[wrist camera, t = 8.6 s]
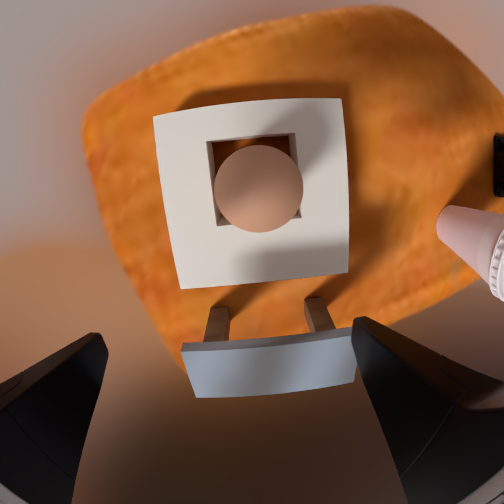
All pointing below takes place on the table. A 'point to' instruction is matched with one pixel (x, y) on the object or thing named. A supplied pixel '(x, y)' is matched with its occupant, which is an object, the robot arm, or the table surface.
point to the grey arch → (270, 358)
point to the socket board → (231, 237)
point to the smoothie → (476, 241)
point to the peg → (258, 188)
